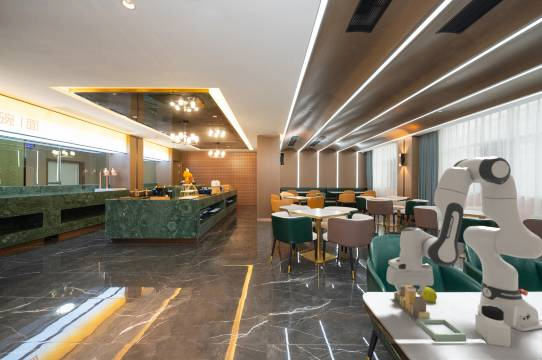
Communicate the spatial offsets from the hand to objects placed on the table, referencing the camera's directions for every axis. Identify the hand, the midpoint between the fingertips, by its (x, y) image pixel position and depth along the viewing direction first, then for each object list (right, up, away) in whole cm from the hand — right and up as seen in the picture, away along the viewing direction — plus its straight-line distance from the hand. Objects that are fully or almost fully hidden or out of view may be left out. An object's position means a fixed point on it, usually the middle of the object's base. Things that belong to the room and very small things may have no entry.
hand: (409, 294), depth 105 cm
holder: (0, -8, 0) cm, 8 cm away
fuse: (0, -7, 0) cm, 7 cm away
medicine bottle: (+20, -8, -18) cm, 28 cm away
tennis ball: (+15, -9, +10) cm, 20 cm away
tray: (+3, -8, -15) cm, 17 cm away
